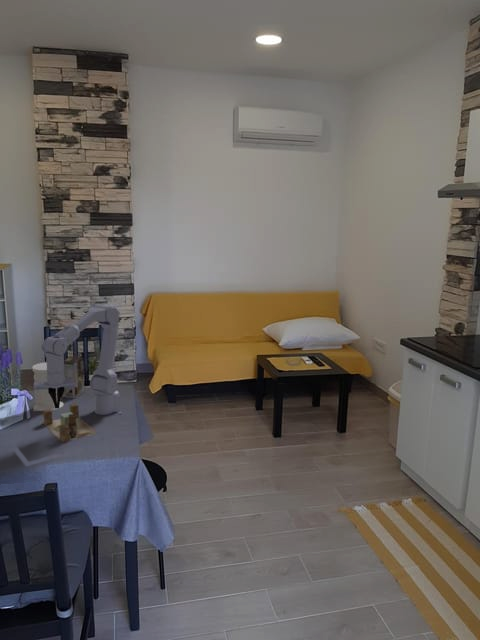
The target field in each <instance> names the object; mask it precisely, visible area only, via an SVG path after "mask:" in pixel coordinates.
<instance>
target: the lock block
mask: <svg viewBox="0 0 480 640" xmlns="http://www.w3.org/2000/svg"><path fill="white" fill-rule="evenodd" d="M70 414H73V413H72V412H70V411H69V412H64V413H60V419H61V425H65V424H67V425H68V426H69V415H70Z"/></svg>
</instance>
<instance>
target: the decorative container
mask: <svg viewBox="0 0 480 640" xmlns="http://www.w3.org/2000/svg"><path fill="white" fill-rule="evenodd" d="M31 370H32V372H33V373H34V374H33V380H34V382H33V385H34V384H35V383H42V382H47V362H46V361H45V362H39V363H36V364H34V365H32V366H31ZM33 391H34V392H33V393H34V395H35V397H34V402H35V404H34V405H33V407H32V408H33V409H32V410H33V412H43V410H47V409H50V410H51V411H52V412H53V411H55V410H56V411H57V410H59V409H61V408H63V406H64V402H63V401H61V400H60V405H59V408H56V409H55V405H54V402H53V400H52V398H51V396H50V394H49V393H48V389H39V390H33ZM62 398H63V397H61V399H62ZM56 399H57V388H56Z"/></svg>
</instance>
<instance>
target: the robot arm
mask: <svg viewBox="0 0 480 640" xmlns="http://www.w3.org/2000/svg"><path fill="white" fill-rule="evenodd" d="M120 315H121V314H120V310H118V308H117V307H116V306H114V305H106V304H105V305H103V304H101V303H100V304H99V303H94V304H93V305H91V306H89V308H88V310H87V312H86V313H85V314H84V315H83V316H81V318H79V319H78V320H76V321H75V323H74V324H66V325H64V328H62V329H61V330H59V331H58V332H56V333H54V335H53V336H48V337H47V338H45V339H44V341H43V343H42V345H41V349H42V351H43V352H44V356H45V362H47V382H42V383H35V384H34V383H33V391H35V390H39V389H48V393H49V394H50V396H51V398H52V400H53V402H54V405H55V409H56V408H59V405H60V401H61V400H62V398H63V397H62V395H63V393H64V388H66V387H78V381H69V380H65V378H64V360H65V356H64V354H65V353H66V352H67V350H68V347H69V346H70V345H71V344H73V343H74V341H76V340H77V339H79V337H80V335H81V333H80V332H82V331H84V330H85V329H86V328H88V327H89V326H91V325H92V324H94V323H95V322H97V323H98V324H99V325H100V326H101V327H102V328H103V331H102V341H101V347H100V355H99V361H98V368H96V369H95V370H94V371H93V372H92V376H91V378H90V381H89V387H90V389H91V390H92V392H93V393H94V412H95V414H97V415H104V416H105V415H110V414H112V413H115V412H116V413H117V414H118V415H121V414H122V412H121V396H120V393H119V391H118V390H117V389H118V385H119V384H118V375H117V374H116V371H114V369H113V367H114V362H115V354H116V348H117V342H118V341H117V340H118V333H119V332H118V331H119V326H120V323H119V322H120V321H119V320H120ZM56 388H57V399H56ZM61 397H62V398H61ZM59 409H60V408H59ZM56 410H57V409H56Z"/></svg>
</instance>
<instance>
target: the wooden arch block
mask: <svg viewBox="0 0 480 640" xmlns="http://www.w3.org/2000/svg"><path fill="white" fill-rule="evenodd" d="M71 426H75V435H76V414H70V415H69V430H70V436H71Z"/></svg>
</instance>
